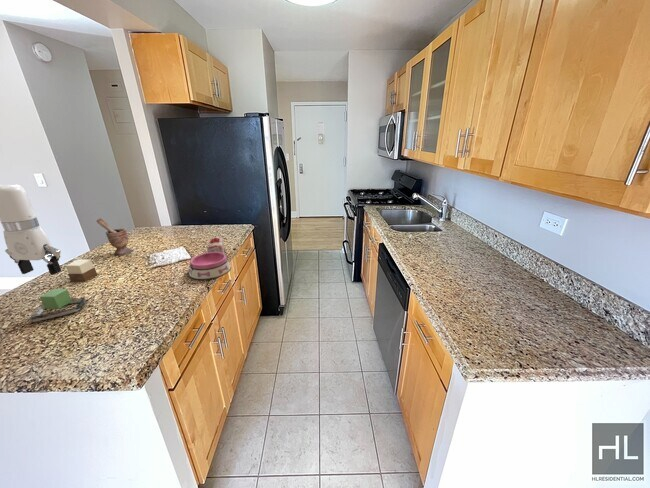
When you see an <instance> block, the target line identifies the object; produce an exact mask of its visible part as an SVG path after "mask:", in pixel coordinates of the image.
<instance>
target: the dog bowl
mask: <svg viewBox="0 0 650 488" xmlns="http://www.w3.org/2000/svg"><path fill="white" fill-rule="evenodd" d="M231 270H232V265H231V263H230V262H229V259H228V256H227V255H226V254H225V252H224V253H221V252H209V253H208V252H203V253H200V254H198V255H196V256H195V255H194V256H193V257H191V259H190V261H189V272H188V276H189V277H190V279H192V280H195V281H211V280H214V279H218V278H220V277H223V276H226V274H229V272H231Z"/></svg>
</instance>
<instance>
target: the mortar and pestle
mask: <svg viewBox="0 0 650 488" xmlns="http://www.w3.org/2000/svg"><path fill="white" fill-rule="evenodd" d="M96 223H97V224H98V225H99V226H100V227H102V228H104V229H105V230H107V231H106V232H105V235H106V237H107V240H108V242H109V244H110V245H111V246H112V247H114V248H116V249H115V251H114V255H115V256H118V257H119V256H124V255H125V256H126V255H129V254H130V253H132V250H131V248H129V247H128V246H127V245H128V243H129V235H128V233H127V229H126V228H112V227H111V226H110V225H109V224H108V223H107V222H106V220H104V219H103V218H98V219H97V220H96Z"/></svg>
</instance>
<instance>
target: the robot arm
mask: <svg viewBox="0 0 650 488" xmlns="http://www.w3.org/2000/svg"><path fill="white" fill-rule="evenodd" d="M0 224H1V226H2V228H3V238H4V242H5V245H6V249H5V250H4V252H5V253H6V254H7V255H8V256H9V258H10V259H11V260H13V261H14V263H15V264H17V267H18V268H19V271H20V273H21V275H26V274H28V273H31V272H33V271H34V266H33V265H32V263H31V261H41V260H43V261H44V262H45V263H47V264H46V267H47V269H48V272H49V274H50V275H51V276H54V275H56V274H58V273H61V272H62V268H61V266H60V262H59V261H60V259H61V250H60V249H58V248H56V247H53V246H52V244H51V241H50V240H49V237H48V236H47V234H46V233H45V231H44V230H43V228H42V227H41V226H40V223H39V220H38V218H37V216H36V213H35V210H34V208H33V206H32V203H31V201H30V199H29V195H28V194H27V192H26V189H25V188H24V186H22V185H19V184H1V183H0Z"/></svg>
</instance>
